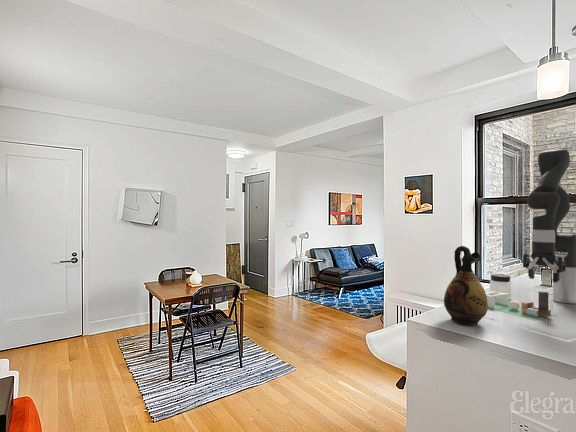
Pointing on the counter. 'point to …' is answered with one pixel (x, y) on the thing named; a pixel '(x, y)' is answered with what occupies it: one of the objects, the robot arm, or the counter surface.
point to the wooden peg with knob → (542, 305)
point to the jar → (500, 284)
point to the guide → (533, 312)
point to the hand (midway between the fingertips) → (543, 280)
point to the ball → (514, 305)
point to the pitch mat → (515, 311)
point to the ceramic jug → (465, 291)
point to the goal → (497, 298)
